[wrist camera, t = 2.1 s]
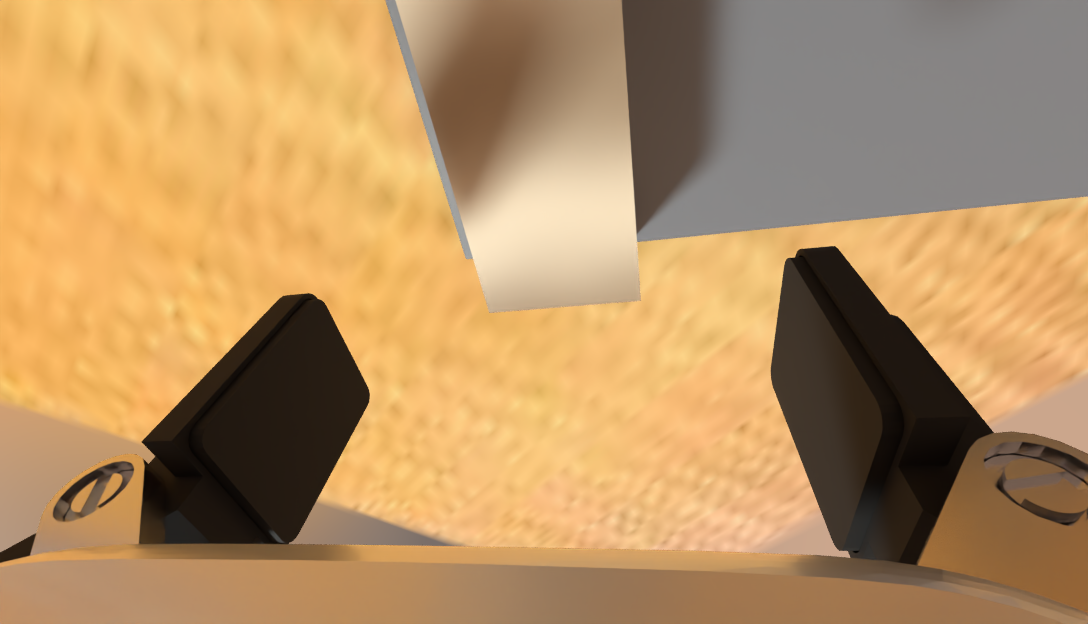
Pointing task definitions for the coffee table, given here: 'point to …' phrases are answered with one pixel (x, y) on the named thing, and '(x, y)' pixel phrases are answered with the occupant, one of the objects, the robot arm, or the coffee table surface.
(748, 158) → the board
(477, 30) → the link
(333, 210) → the coffee table surface
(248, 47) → the coffee table surface
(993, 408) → the coffee table surface
